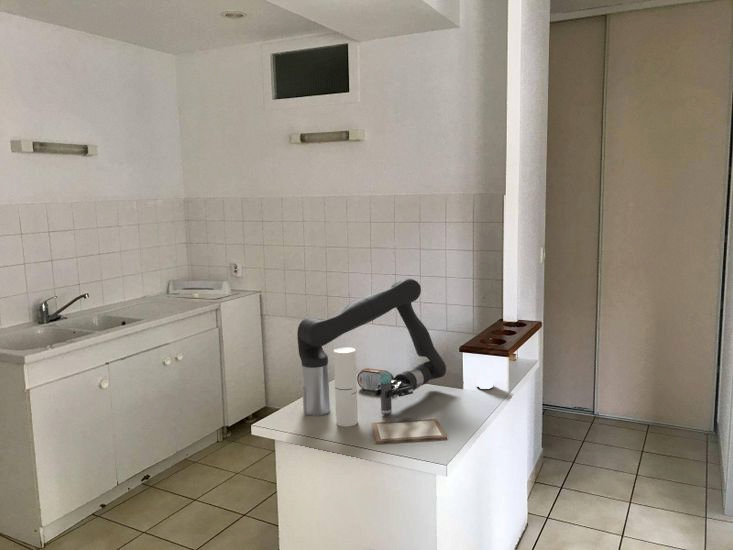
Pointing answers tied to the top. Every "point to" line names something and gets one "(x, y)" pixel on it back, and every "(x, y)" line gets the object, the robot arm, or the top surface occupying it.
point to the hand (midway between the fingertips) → (381, 394)
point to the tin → (370, 378)
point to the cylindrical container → (345, 386)
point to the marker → (385, 386)
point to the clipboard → (408, 430)
